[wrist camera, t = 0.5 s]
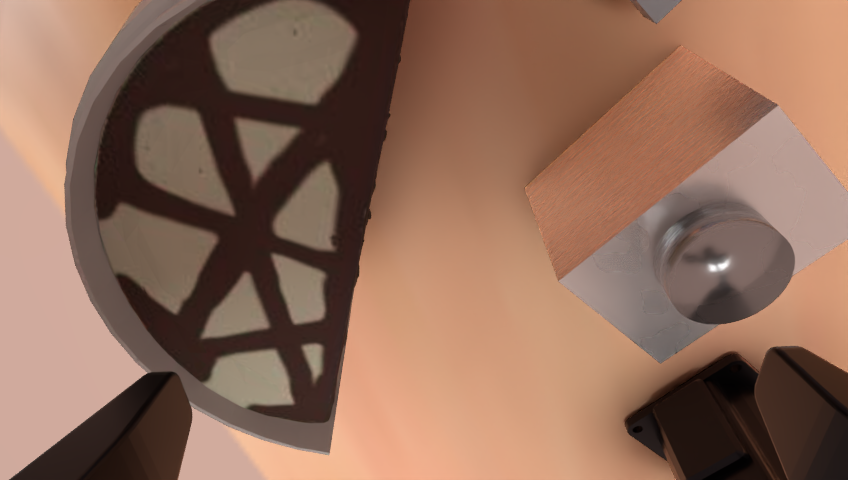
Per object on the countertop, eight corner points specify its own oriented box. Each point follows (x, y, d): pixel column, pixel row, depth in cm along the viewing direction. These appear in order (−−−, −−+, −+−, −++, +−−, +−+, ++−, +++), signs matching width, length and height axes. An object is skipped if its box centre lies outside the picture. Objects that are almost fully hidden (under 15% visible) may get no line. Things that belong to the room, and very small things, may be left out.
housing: (759, 138, 21) (905, 246, 14) (606, 258, 23) (675, 392, 17) (679, 44, 19) (807, 123, 13) (523, 187, 21) (568, 307, 15)
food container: (205, -154, 16) (-41, -196, 7) (424, -98, 16) (436, -77, 8) (201, 224, 22) (69, 438, 14) (358, 250, 23) (326, 468, 14)
